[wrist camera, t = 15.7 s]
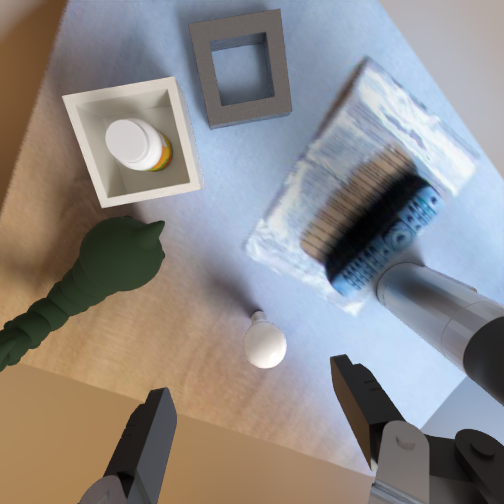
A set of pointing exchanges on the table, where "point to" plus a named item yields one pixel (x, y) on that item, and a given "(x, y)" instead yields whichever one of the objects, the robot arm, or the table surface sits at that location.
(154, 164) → the supplement bottle
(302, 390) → the table surface
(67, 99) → the bin
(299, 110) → the table surface
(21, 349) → the toy figurine
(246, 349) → the lightbulb
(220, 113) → the socket collar
